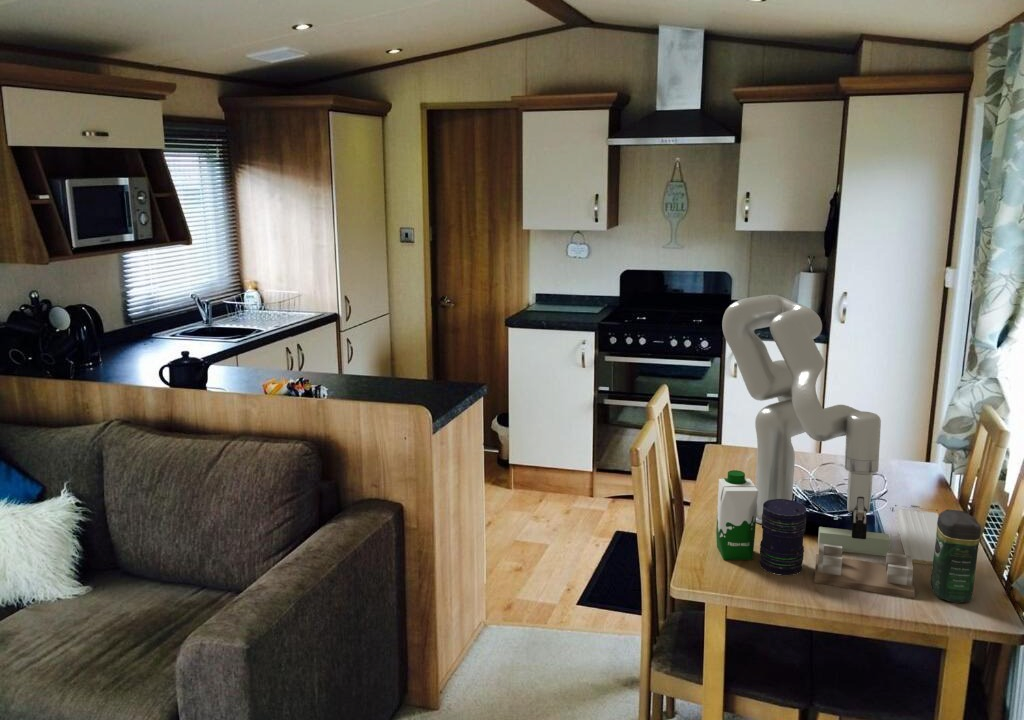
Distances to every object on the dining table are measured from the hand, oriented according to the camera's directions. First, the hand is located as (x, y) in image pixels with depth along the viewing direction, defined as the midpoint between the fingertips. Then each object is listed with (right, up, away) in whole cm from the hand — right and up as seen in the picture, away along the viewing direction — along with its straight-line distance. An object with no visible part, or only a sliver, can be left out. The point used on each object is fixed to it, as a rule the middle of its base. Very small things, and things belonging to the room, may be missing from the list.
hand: (858, 530), depth 208 cm
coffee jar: (+12, -10, -19) cm, 25 cm away
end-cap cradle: (-4, -8, -12) cm, 15 cm away
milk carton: (-30, -6, +1) cm, 31 cm away
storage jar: (-21, -7, -6) cm, 23 cm away
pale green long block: (-1, -5, +2) cm, 6 cm away
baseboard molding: (+19, -4, +8) cm, 21 cm away
